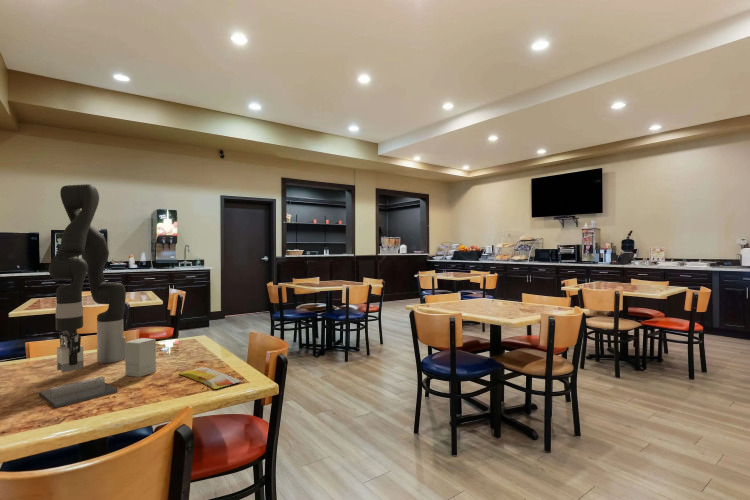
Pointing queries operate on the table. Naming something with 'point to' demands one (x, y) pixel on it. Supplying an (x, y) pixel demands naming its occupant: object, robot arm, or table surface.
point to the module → (64, 360)
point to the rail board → (77, 392)
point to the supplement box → (140, 357)
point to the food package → (210, 377)
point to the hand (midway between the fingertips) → (70, 363)
